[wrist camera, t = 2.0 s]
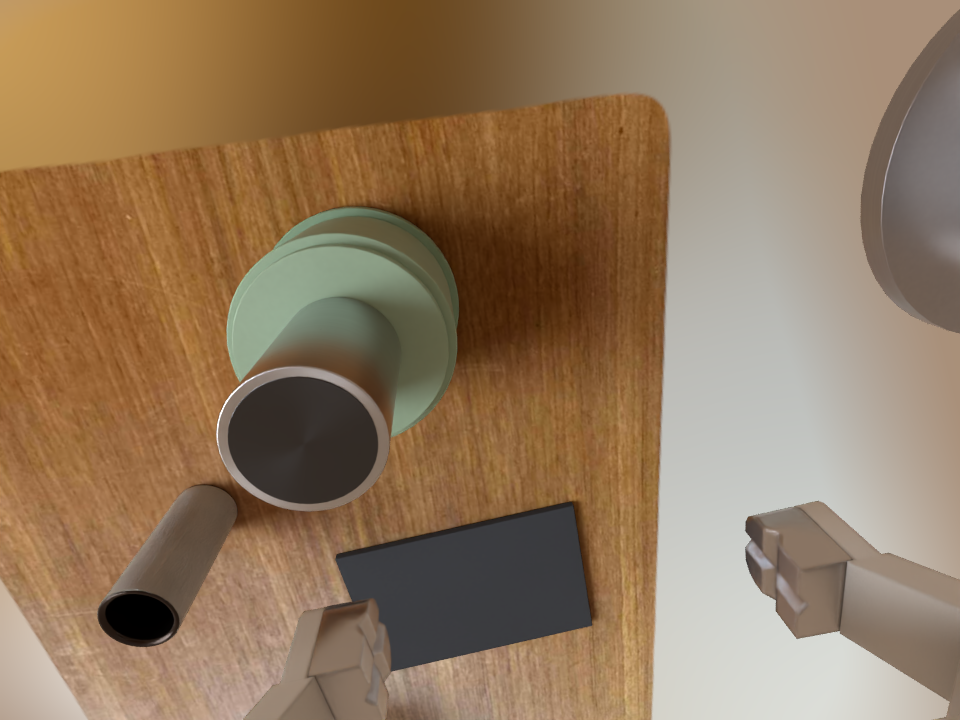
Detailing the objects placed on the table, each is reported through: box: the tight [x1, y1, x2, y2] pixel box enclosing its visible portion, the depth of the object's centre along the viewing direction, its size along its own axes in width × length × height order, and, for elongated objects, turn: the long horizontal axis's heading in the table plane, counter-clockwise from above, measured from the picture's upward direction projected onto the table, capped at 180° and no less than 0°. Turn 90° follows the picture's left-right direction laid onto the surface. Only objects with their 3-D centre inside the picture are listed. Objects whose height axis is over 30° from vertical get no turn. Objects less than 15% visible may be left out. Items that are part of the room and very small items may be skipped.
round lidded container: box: [227, 206, 459, 437], centre depth 31 cm, size 13×13×9 cm
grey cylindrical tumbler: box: [97, 485, 237, 647], centre depth 35 cm, size 4×4×10 cm
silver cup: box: [216, 297, 401, 511], centre depth 23 cm, size 6×6×9 cm
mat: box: [336, 502, 592, 671], centre depth 45 cm, size 20×14×1 cm
